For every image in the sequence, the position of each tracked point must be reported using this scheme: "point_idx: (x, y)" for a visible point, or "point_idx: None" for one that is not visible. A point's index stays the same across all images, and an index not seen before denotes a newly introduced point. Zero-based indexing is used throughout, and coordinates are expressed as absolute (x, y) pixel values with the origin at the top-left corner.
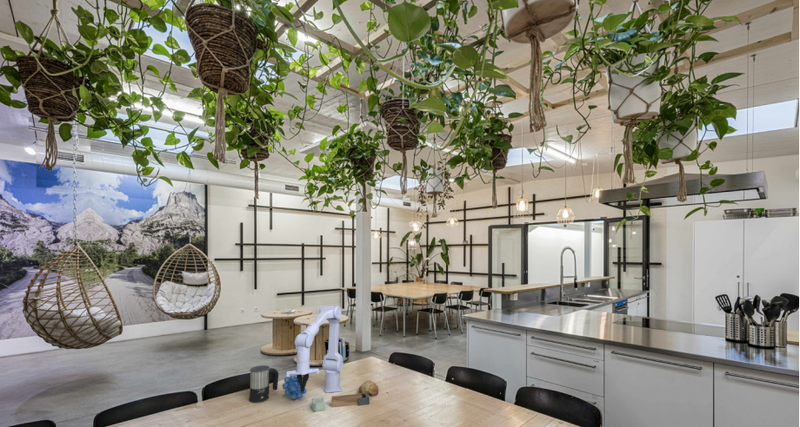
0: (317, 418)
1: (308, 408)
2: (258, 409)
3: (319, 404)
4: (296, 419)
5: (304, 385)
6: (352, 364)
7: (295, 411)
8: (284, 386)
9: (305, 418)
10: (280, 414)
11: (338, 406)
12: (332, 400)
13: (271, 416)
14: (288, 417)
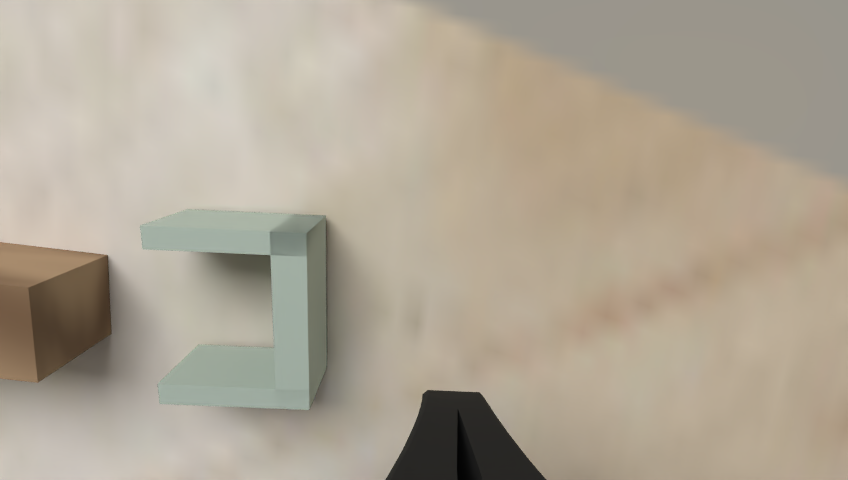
0: (291, 13)
1: (365, 319)
2: (837, 461)
3: (223, 226)
4: (529, 81)
5: (422, 466)
6: None
7: (507, 293)
8: None
9: (427, 68)
10: (667, 275)
11: (29, 247)
12: (40, 280)
13: (763, 260)
14: (603, 169)
